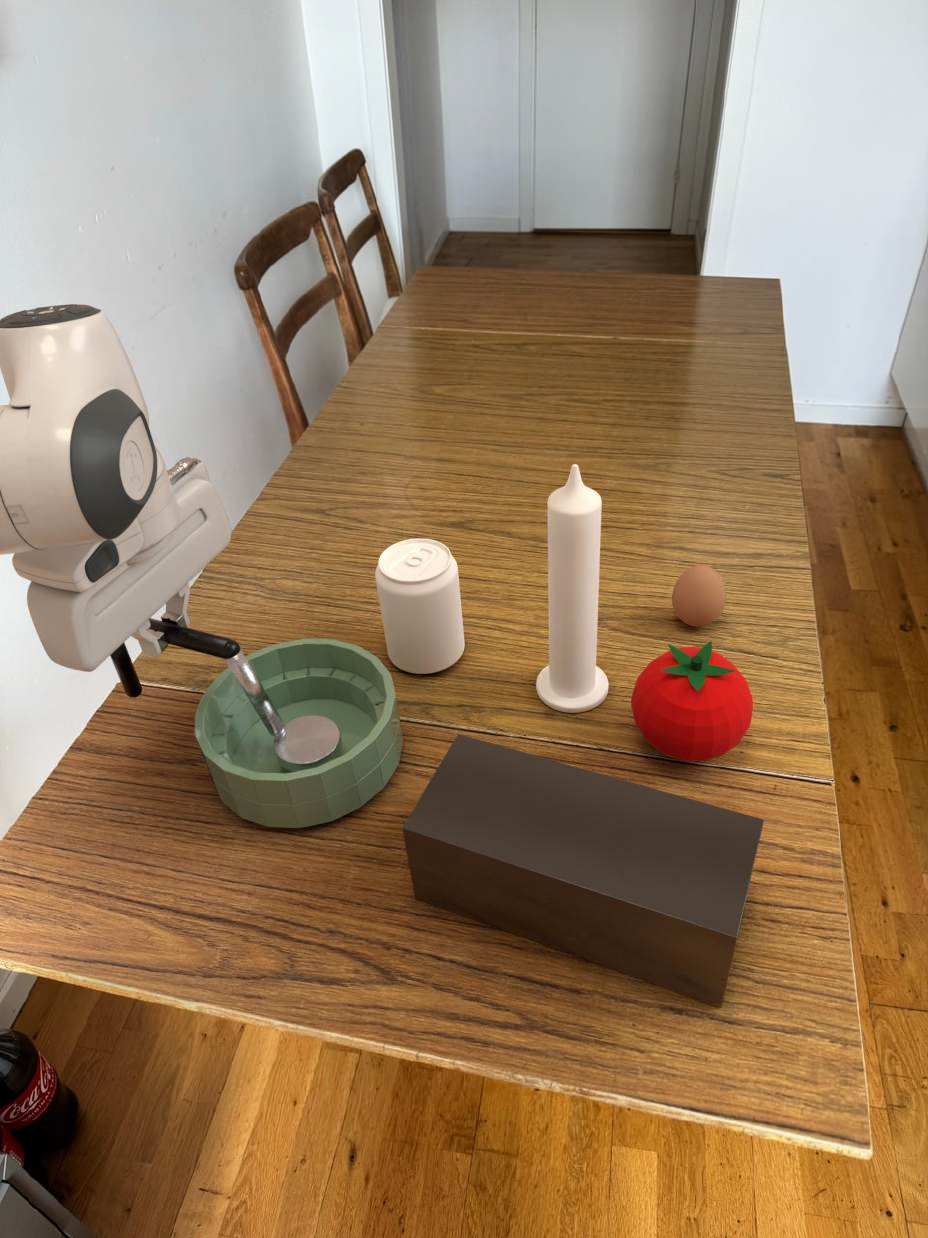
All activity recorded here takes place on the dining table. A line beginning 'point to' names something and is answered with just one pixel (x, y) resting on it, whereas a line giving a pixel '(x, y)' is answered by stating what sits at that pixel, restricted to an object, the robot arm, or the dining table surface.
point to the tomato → (692, 703)
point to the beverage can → (420, 605)
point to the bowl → (297, 687)
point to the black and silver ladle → (294, 741)
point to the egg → (699, 596)
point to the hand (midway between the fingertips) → (167, 640)
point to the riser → (585, 864)
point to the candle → (573, 599)
